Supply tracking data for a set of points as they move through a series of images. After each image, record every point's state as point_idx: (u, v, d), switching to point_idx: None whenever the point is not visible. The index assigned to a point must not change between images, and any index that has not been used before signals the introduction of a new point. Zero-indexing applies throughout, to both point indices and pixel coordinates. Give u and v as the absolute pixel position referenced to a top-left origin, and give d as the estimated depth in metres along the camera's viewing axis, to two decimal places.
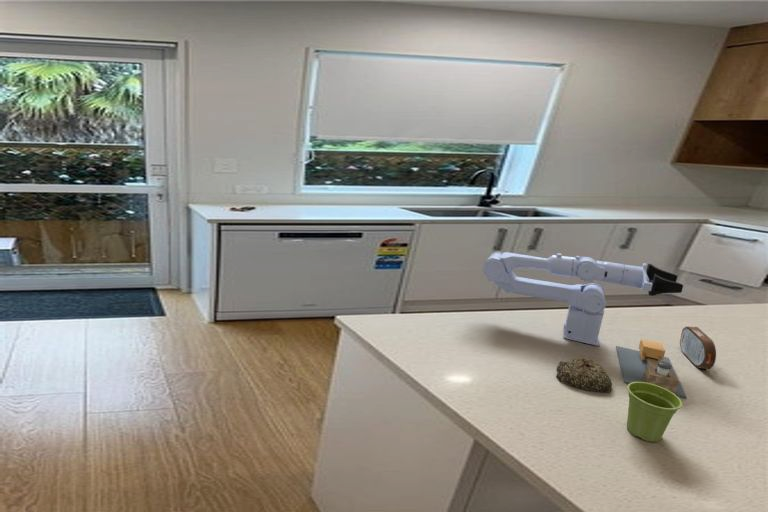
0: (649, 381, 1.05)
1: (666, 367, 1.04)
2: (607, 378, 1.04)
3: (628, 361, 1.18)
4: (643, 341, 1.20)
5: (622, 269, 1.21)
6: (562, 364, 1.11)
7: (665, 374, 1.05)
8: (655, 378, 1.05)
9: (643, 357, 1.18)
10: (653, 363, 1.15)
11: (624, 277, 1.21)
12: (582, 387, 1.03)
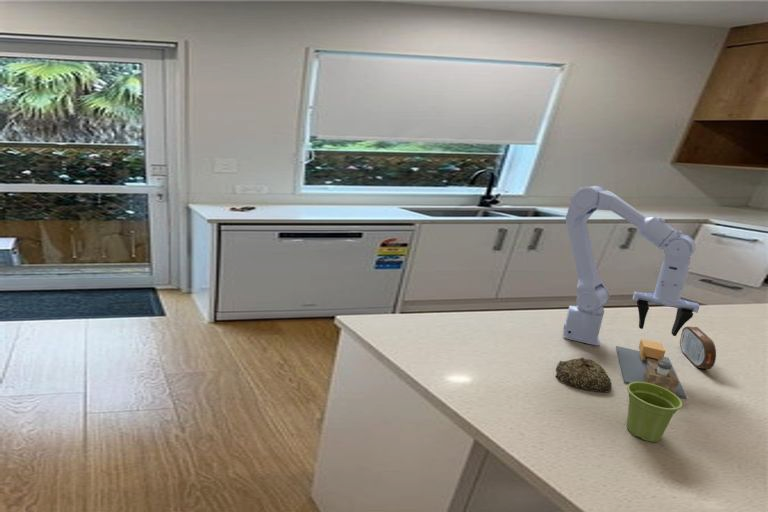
0: (649, 381, 1.05)
1: (666, 367, 1.04)
2: (606, 378, 1.04)
3: (628, 361, 1.18)
4: (643, 341, 1.20)
5: (678, 284, 1.11)
6: (561, 364, 1.11)
7: (665, 374, 1.05)
8: (655, 378, 1.05)
9: (643, 357, 1.18)
10: (653, 363, 1.15)
11: (657, 281, 1.15)
12: (581, 387, 1.03)
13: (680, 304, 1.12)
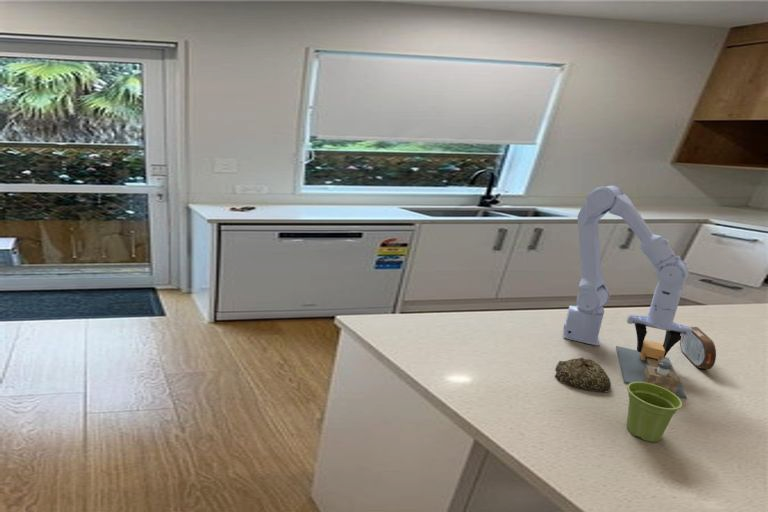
0: (649, 381, 1.05)
1: (666, 367, 1.04)
2: (606, 378, 1.04)
3: (628, 361, 1.18)
4: (643, 341, 1.20)
5: (671, 308, 1.13)
6: (561, 364, 1.11)
7: (665, 374, 1.05)
8: (655, 378, 1.05)
9: (643, 357, 1.18)
10: (653, 363, 1.15)
11: (651, 305, 1.17)
12: (581, 387, 1.03)
13: (673, 328, 1.14)
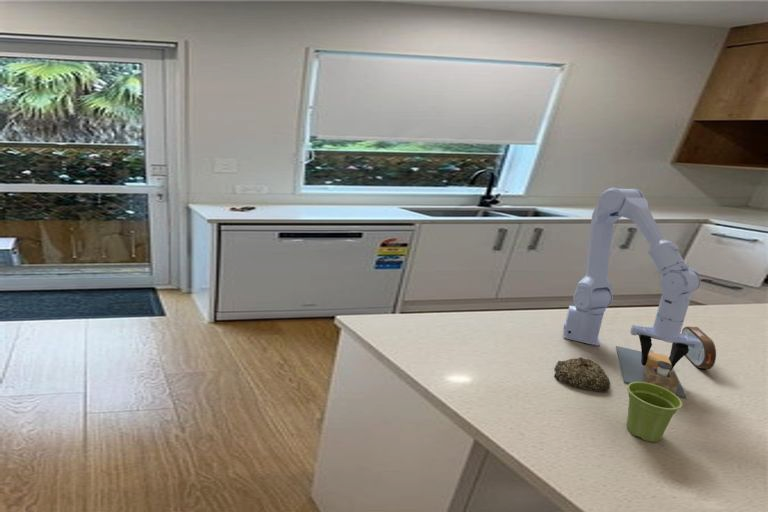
0: (649, 381, 1.05)
1: (666, 367, 1.04)
2: (605, 377, 1.04)
3: (628, 361, 1.18)
4: None
5: (673, 319, 1.06)
6: (560, 364, 1.11)
7: (665, 374, 1.05)
8: (655, 378, 1.05)
9: None
10: None
11: (656, 315, 1.09)
12: (580, 386, 1.03)
13: (680, 340, 1.07)
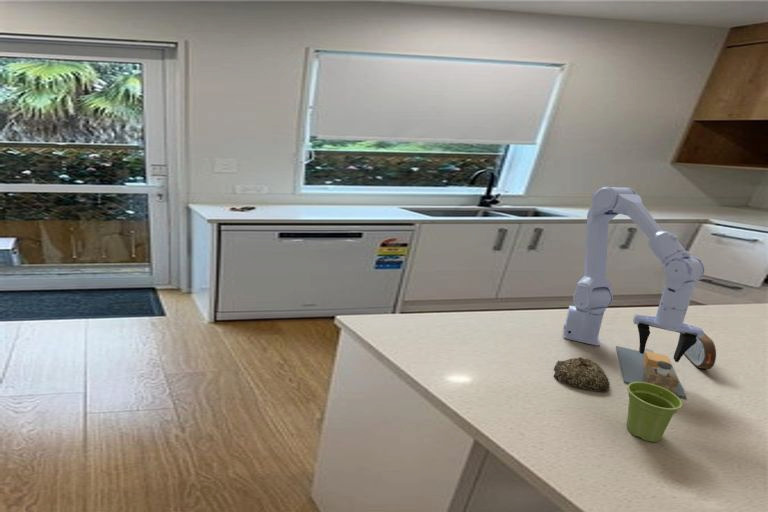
0: (649, 381, 1.05)
1: (666, 367, 1.04)
2: (604, 377, 1.04)
3: (628, 361, 1.18)
4: (648, 353, 1.13)
5: (676, 308, 1.05)
6: (560, 364, 1.11)
7: (665, 374, 1.05)
8: (655, 378, 1.05)
9: None
10: None
11: (659, 304, 1.09)
12: (579, 386, 1.03)
13: (683, 329, 1.06)
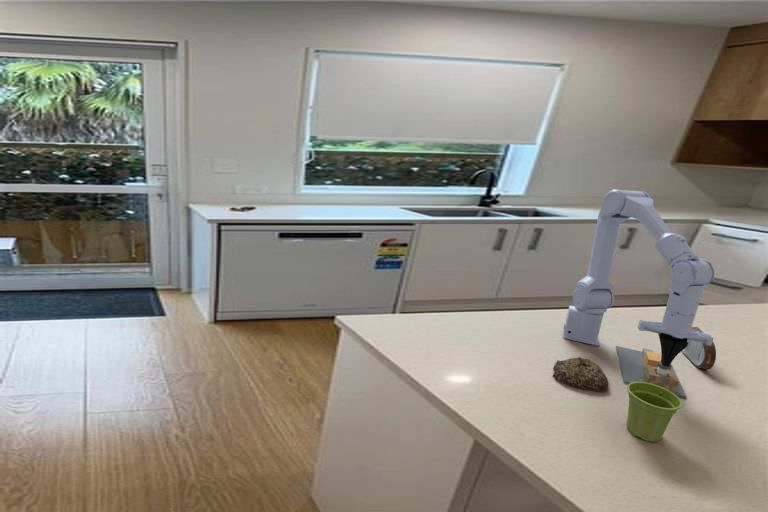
0: (649, 381, 1.05)
1: (666, 367, 1.04)
2: (603, 377, 1.04)
3: (628, 361, 1.18)
4: (648, 353, 1.13)
5: (681, 312, 0.99)
6: (559, 363, 1.11)
7: (665, 374, 1.05)
8: (655, 378, 1.05)
9: None
10: None
11: (666, 309, 1.03)
12: (578, 386, 1.03)
13: (691, 336, 1.00)
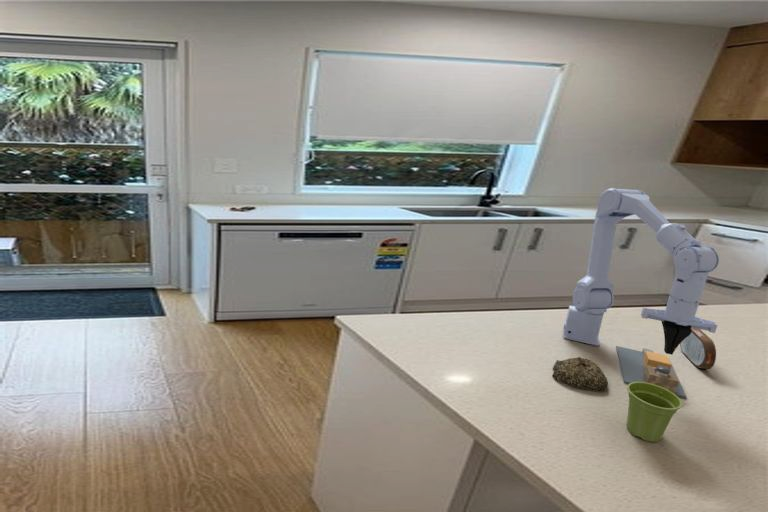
0: (649, 381, 1.05)
1: (665, 372, 1.05)
2: (603, 377, 1.04)
3: (628, 361, 1.18)
4: (648, 353, 1.13)
5: (685, 299, 0.98)
6: (558, 363, 1.11)
7: None
8: (655, 378, 1.05)
9: None
10: None
11: (669, 297, 1.02)
12: (578, 386, 1.03)
13: (695, 323, 0.99)
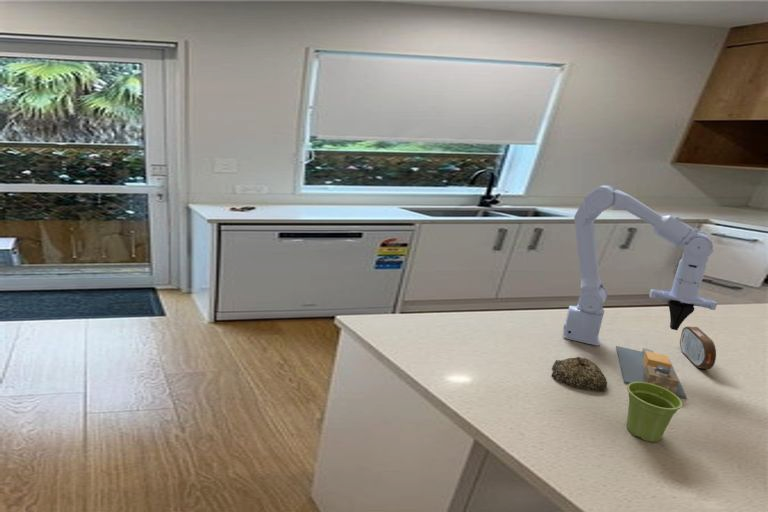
0: (649, 381, 1.05)
1: (665, 372, 1.05)
2: (602, 377, 1.04)
3: (628, 361, 1.18)
4: (648, 353, 1.13)
5: (697, 281, 1.11)
6: (557, 363, 1.11)
7: None
8: (655, 378, 1.05)
9: None
10: None
11: None
12: (577, 386, 1.03)
13: (697, 301, 1.13)
